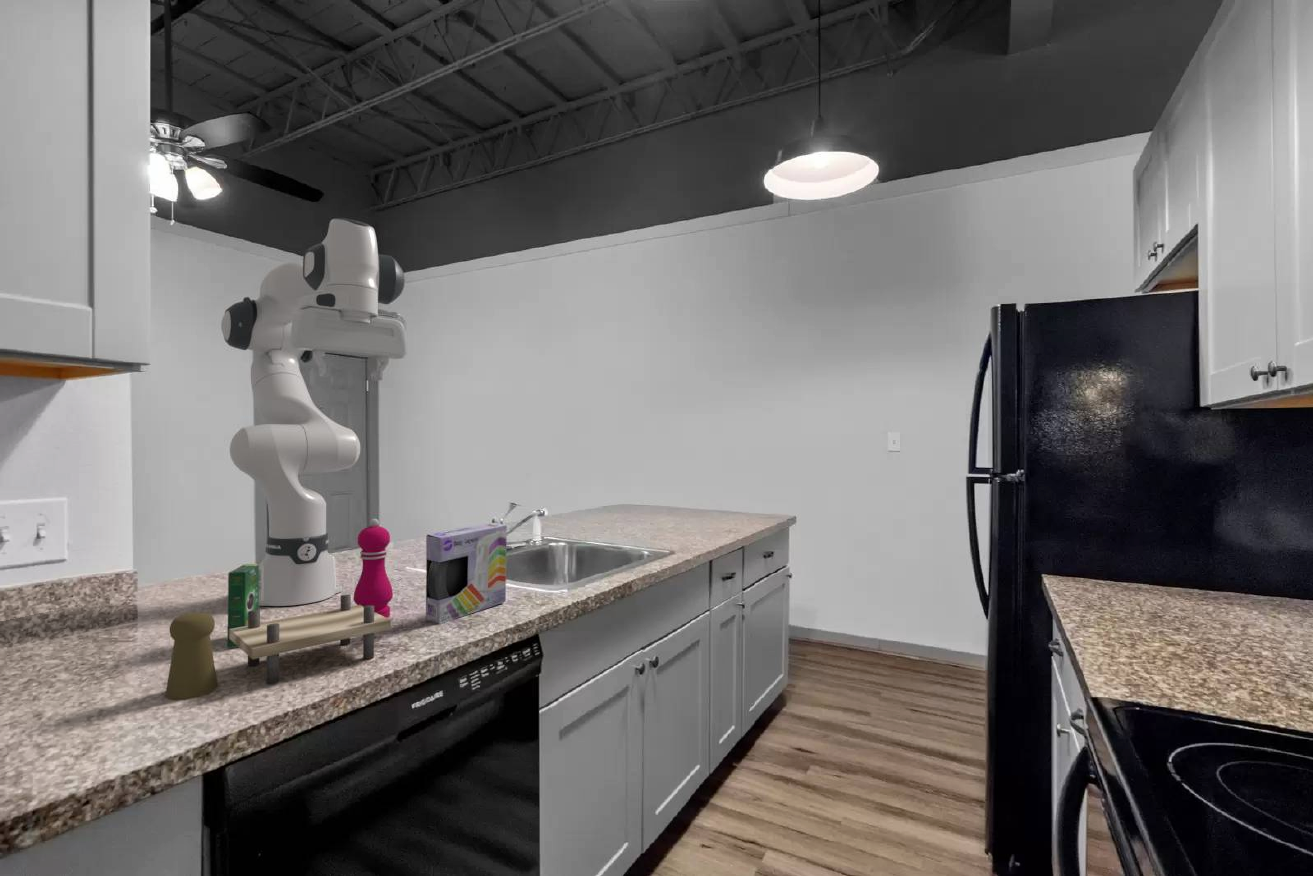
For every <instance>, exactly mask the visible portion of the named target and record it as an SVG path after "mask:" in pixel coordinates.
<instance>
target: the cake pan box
mask: <svg viewBox="0 0 1313 876" xmlns="http://www.w3.org/2000/svg"><path fill="white" fill-rule="evenodd" d="M507 528H508V525H506V524H503V523H502V524H501V523H498V522H491V523H486V524H480V525H474V526H473V525H472V526H464V527H458V528H455V529H449V530H445V531H438V532H432V533H427V534H426V540H425V541H426V543H425V545H426V547H425V548H426V550H425V551H426V555H425V558H426V559H425V561H426V564H425V565H426V568H425V569H426V570H425V571H426V574H425V575H426V577H425V578H426V579H425V582H426V583H425V621H427V622H431V623H435V624H438V625H441V624H444V623H446V622H450V621H453V620H456V619H459V618H461V617H465V616H468V615H471V614H474V613H477V612H479V611H483V610H486V609H489V608H491V607H494V606H497V605H501V604H503V603H505V602H506V600H507V599H506V597H507V596H506V594H507V593H506V592H507V591H506V588H507V539H508V538H507V535H508V534H507V533H508V530H507Z"/></svg>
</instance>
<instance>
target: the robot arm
mask: <svg viewBox="0 0 1313 876" xmlns="http://www.w3.org/2000/svg"><path fill="white" fill-rule="evenodd" d="M378 250H379V249H378V241H377V235H376V231H375V228H374V227H372V226H371V224H368V223H367V222H363V221H360V220H359V221H358V220H355V219H351V218H349V219H348V218H347V217H346V218H345V217H336V218H333V219H331V220H330V222H329V225H328V230H327V234H326V236H325V238H324V239H323V241H322V242H320V243H317V244H314V245H313V246H311V247H309V248H308V249H306V250H305V251H304V252H303V256H302V258H303V259H302V262H286V263H282V264H281V265H279V266H276V267H275V268H273V269H272V270H270V271H269V272H268V273H267V274H266V275H265V276H264V278H263V280H262V281H261V283H260V286H259V296H258V298H257V299H252V300H251V298H250V297H249V296H246V297H244V298H243V299H242V301H239V302H235V303H233V304H232V305H231V306H229V307H228V308H227V309H226V310H225V312H224V314H223V316H222V319H221V323H220V329H221V333H222V335H223V339H224V341H225V343H226V344H227V345H228V346H229V347H232V348H235V349H239V350H242V351H246V350H247V351H248V350H249V351H254V352H259V353H261V354H259V355H257V356H256V357H255V358H254V359H253V361H252V362H251V365H250V384H251V390H252V394H253V397H254V401H255V405H256V408H257V411H258V415H259V417H260V419H261V420H262V421H263V422H264V424H257V425H251V426H245V427H242V428H240V429H239V430H238V431H237V432H236V433H235V434H234V435H233V437H232V439H231V442H230V445H229V455H230V458H231V461H232V463H233V464H234V465H235V467H236V468H238V469H239V470H240V471H242V472H243V473H244V474H247V476H248V477H250V478H251V479H253V481H255V483H256V484H258V486H259V487H260V488H261V490H262V492H263V494H264V496H265V499H266V501H267V502H266V503H267V508H268V509H267V510H268V525H269V529H268V531H269V532H268V533H269V536H268V537H267V538H266V543H265V553H266V554H265V556H264V558H263V559H262V561H261V562H260V563H259V607H261V606H262V607H263V606H271V607H284V606H285V607H287V606H296V605H297V606H298V605H305V604H311V603H317V602H321V601H324V600H327V599H329V598H331V597H333V596H335V594H339V593H340V592H343V586H341V585H338V584H337V581H336V580H337V578H336V576H337V575H336V560H335V557H334V556H333V555H332V554H330V553H329V552H328V549H329V541H330V540H329V533H327V502H326V500H325V498H324V497H323V496H322V495H321V494H320V493H318V492H316V491H314V490H312V489H309V488H307V487H304V486H302V485H301V483H300V481H299V474H319V473H333V472H334V473H335V472H337V471H343V470H347V469H351V468H353V466H355V464H356V463H357V461H358V460H359V457H360V454H361V442H360V439H359V437H358V436H357V434H356V433H355V432H354V430H352V429H351V428H349V427H345V426H344V425H341V424H339V423H337V422H336V421H333V420H332V419H331V418H330V417H328V416H327V415H325V414H324V413H323V412H322V411H321V410H320V409H318V407H317V406H316V405H315V404H314V402H313V400H312V398H311V395H310V393H309V391H308V388H307V384H306V382H305V379H304V377H303V375H302V373H301V370H300V362H302V363H304V364H306V363H307V364H308V363H310V362H311V361H312V358H313V360H314V362H315V363H316V365H317V367H319V368H318V372H319V373H318V376H319V377H323V378H324V377H325V378H329V377H332V372H331V371H332V366H327V364H326V362H325V361H324V359H323V358H325V356H326V353H331V354H341V355H350V356H351V355H352V356H358V357H359V356H362V357H371V358H376V363H377V364H378V366H377V368H376V370H371V373H370V374H371V376H370V379H371V381H378V382H379V381H382V380H383V376H384V375H383V372H384V371H385V370H386V368H387V366H388V364H389V361H390V359H392V360H400V359H404V357H406V355H407V354H408V348H407V347H408V343H407V336H406V331H407V330H406V329H407V323H406V319H405V318H404V317H403V316H402V315H401V314H400V313H399V312H396V311H388V310H383V309H379V304H382V305H390V304H391V303H393V302H394V301H395V300H396V299H397V298H399V297H400V296H401V294H403V291H404V288H405V281H406V279H405V274H404V271H403V269H402V268H401V266H400V264H399V263H398V261H397V260H396V259H395V257H393V256H391V255H386V254H379V251H378Z"/></svg>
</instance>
